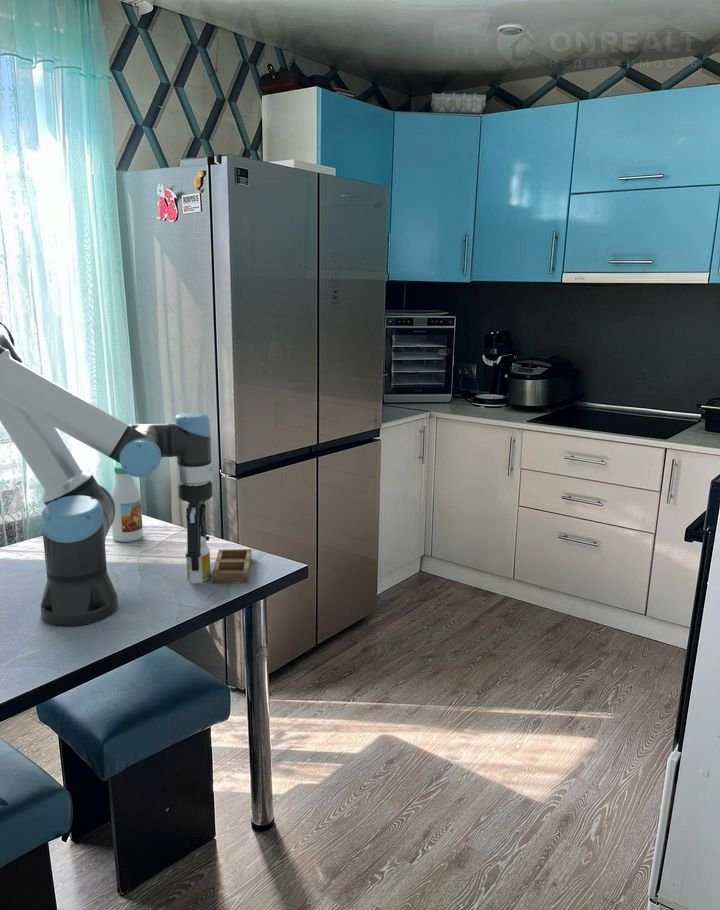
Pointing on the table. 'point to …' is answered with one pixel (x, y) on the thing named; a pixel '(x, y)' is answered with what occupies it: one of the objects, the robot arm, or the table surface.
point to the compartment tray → (232, 566)
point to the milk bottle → (126, 508)
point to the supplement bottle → (205, 560)
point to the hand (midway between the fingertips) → (198, 574)
